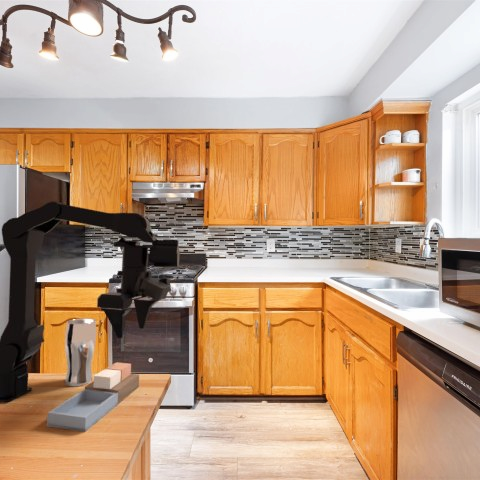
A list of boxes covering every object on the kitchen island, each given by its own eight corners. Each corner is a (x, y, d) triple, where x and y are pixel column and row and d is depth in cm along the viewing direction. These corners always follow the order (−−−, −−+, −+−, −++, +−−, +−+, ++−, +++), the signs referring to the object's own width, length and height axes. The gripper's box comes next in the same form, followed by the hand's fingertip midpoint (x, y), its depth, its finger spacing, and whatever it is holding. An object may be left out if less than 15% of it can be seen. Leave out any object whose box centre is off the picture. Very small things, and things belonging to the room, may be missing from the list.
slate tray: (46, 426, 57) (47, 412, 57) (84, 400, 68) (84, 388, 68) (85, 431, 56) (85, 417, 56) (117, 404, 66) (118, 392, 66)
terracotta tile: (105, 379, 72) (106, 368, 72) (115, 372, 76) (116, 362, 76) (121, 380, 71) (122, 369, 71) (130, 374, 75) (131, 363, 75)
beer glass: (56, 383, 76) (59, 321, 77) (82, 373, 82) (85, 317, 83) (74, 389, 73) (77, 325, 73) (100, 379, 79) (102, 320, 79)
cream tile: (93, 387, 67) (93, 375, 67) (104, 380, 71) (105, 369, 71) (110, 389, 67) (110, 377, 67) (120, 381, 71) (120, 370, 71)
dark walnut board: (84, 400, 68) (84, 386, 68) (108, 383, 76) (109, 371, 76) (117, 404, 66) (118, 390, 66) (138, 386, 75) (139, 374, 75)
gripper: (145, 270, 63) (141, 348, 62) (181, 266, 81) (179, 327, 80) (97, 267, 65) (93, 342, 64) (143, 265, 83) (140, 323, 83)
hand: (131, 333), depth 73 cm, fingers open, 9 cm apart
